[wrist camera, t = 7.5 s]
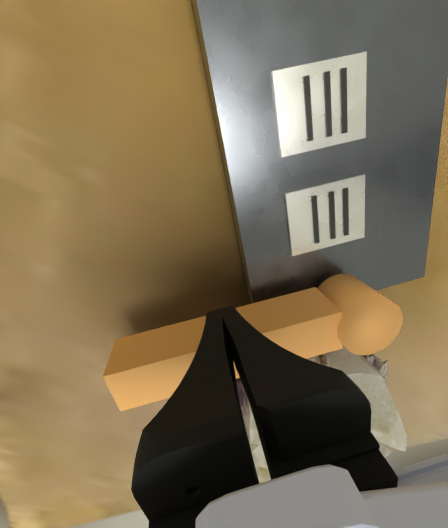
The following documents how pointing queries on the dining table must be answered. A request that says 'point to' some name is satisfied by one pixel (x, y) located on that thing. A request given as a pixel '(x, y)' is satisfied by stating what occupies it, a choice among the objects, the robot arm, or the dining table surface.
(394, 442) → the geode
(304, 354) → the orange rectangular block
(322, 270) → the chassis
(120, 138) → the dining table surface
